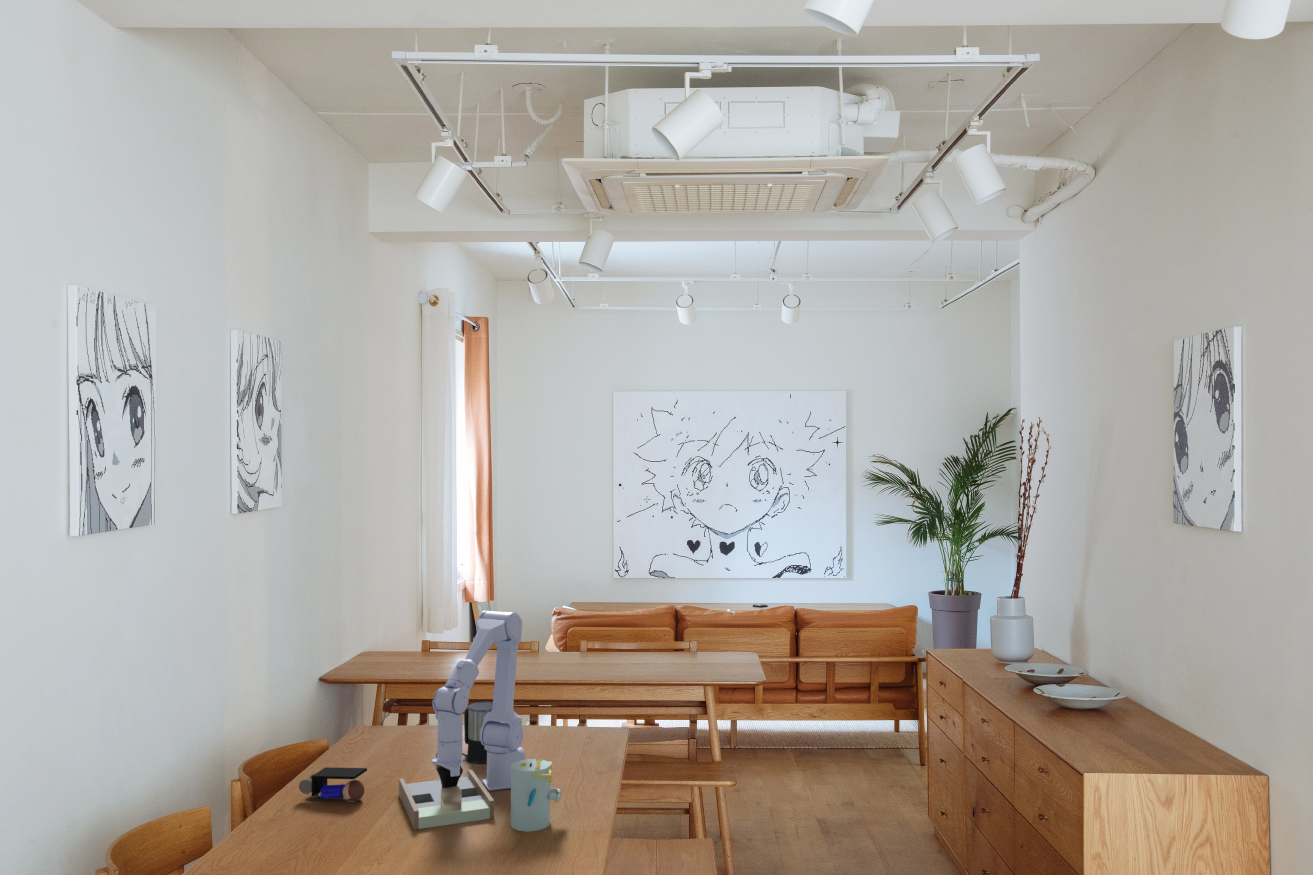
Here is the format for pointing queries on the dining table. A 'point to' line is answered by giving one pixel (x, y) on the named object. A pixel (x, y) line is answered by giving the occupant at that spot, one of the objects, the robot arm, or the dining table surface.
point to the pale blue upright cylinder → (531, 794)
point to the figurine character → (323, 791)
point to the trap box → (426, 802)
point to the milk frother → (475, 731)
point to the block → (451, 798)
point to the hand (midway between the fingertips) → (449, 798)
